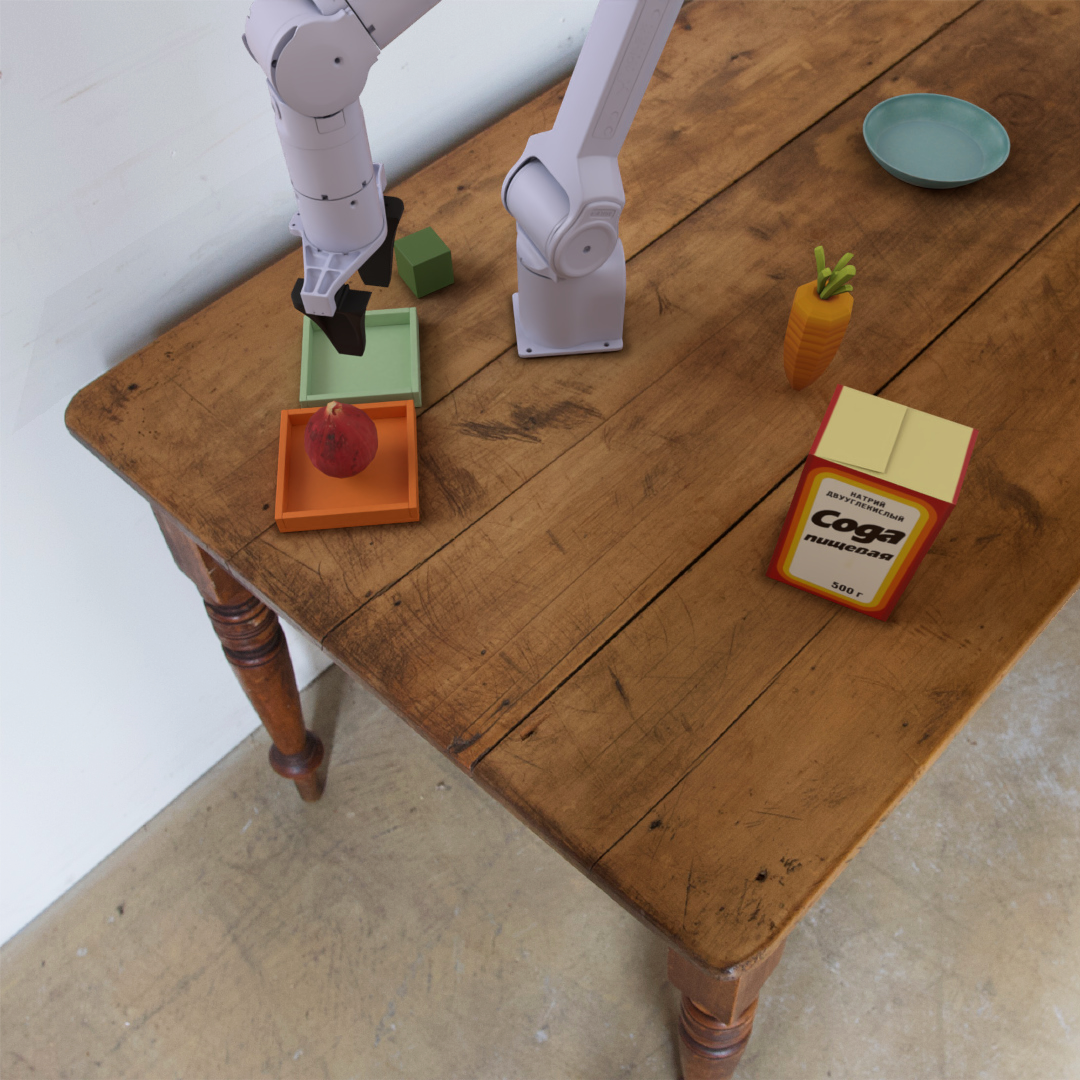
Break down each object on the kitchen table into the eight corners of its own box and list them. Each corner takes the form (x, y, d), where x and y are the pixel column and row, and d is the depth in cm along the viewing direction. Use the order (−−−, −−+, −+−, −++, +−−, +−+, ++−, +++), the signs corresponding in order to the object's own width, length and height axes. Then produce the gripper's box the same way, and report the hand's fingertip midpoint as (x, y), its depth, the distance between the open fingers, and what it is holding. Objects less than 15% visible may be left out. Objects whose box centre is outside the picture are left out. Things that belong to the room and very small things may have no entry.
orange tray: (416, 414, 86) (413, 399, 85) (419, 521, 80) (416, 507, 79) (286, 424, 86) (281, 409, 84) (280, 533, 80) (274, 519, 78)
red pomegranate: (372, 502, 81) (356, 441, 74) (305, 491, 81) (282, 429, 75) (392, 446, 84) (378, 383, 77) (327, 436, 84) (307, 372, 78)
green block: (434, 258, 97) (430, 225, 93) (454, 282, 95) (451, 250, 92) (398, 274, 96) (392, 241, 92) (417, 299, 94) (412, 266, 90)
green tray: (418, 322, 92) (416, 306, 91) (421, 406, 87) (418, 391, 85) (308, 330, 92) (303, 315, 90) (304, 416, 86) (299, 401, 85)
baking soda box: (907, 555, 78) (981, 426, 65) (885, 622, 75) (958, 501, 61) (791, 512, 80) (839, 380, 67) (765, 576, 77) (809, 449, 64)
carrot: (762, 370, 89) (797, 237, 76) (817, 366, 89) (861, 232, 76) (774, 413, 86) (812, 282, 73) (831, 409, 86) (879, 278, 73)
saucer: (1019, 142, 105) (1030, 119, 103) (972, 222, 99) (982, 199, 96) (888, 98, 110) (895, 76, 107) (834, 171, 103) (840, 149, 101)
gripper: (308, 104, 72) (342, 249, 84) (241, 238, 65) (288, 377, 76) (402, 113, 72) (423, 259, 83) (344, 250, 64) (377, 389, 76)
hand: (364, 316), depth 80 cm, fingers open, 7 cm apart
